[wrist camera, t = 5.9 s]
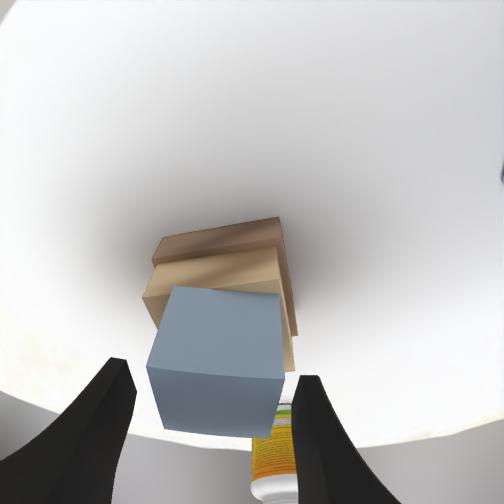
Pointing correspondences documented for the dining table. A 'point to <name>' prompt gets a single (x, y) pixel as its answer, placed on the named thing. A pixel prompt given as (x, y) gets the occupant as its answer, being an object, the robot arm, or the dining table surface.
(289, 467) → the supplement bottle
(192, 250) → the walnut slab
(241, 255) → the oak slab
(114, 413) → the robot arm
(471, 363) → the dining table surface
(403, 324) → the dining table surface
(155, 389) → the slate blue cube
